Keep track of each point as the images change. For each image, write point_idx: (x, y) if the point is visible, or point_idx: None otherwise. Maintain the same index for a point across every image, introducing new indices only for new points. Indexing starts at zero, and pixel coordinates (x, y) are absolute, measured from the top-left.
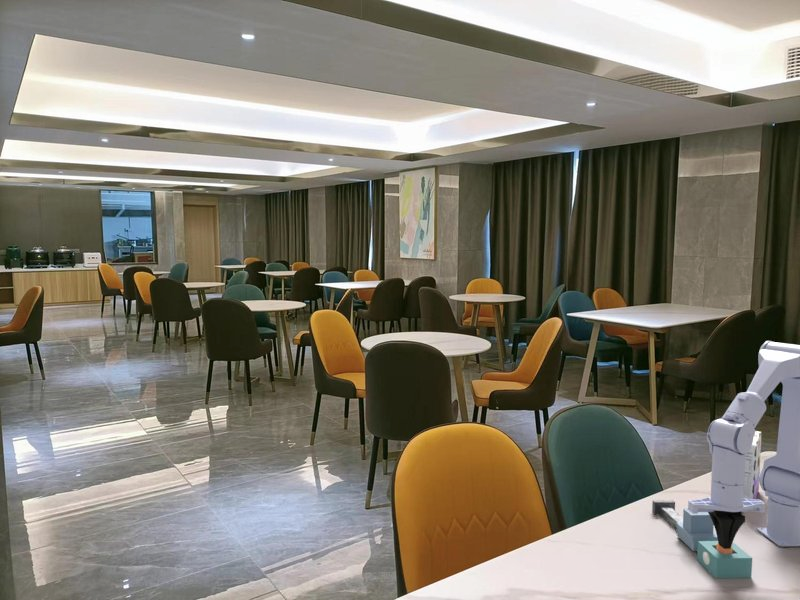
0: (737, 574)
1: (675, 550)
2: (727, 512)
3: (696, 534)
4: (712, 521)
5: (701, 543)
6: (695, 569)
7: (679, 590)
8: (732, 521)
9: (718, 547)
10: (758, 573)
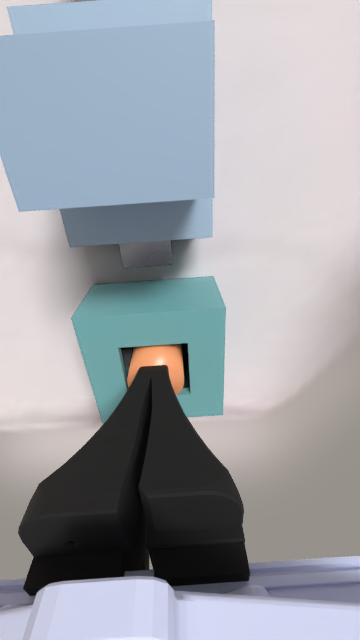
0: None
1: (26, 212)
2: (153, 560)
3: (99, 211)
4: (92, 437)
5: (81, 334)
6: (70, 338)
7: (6, 421)
8: (148, 568)
9: (129, 385)
10: (248, 349)
